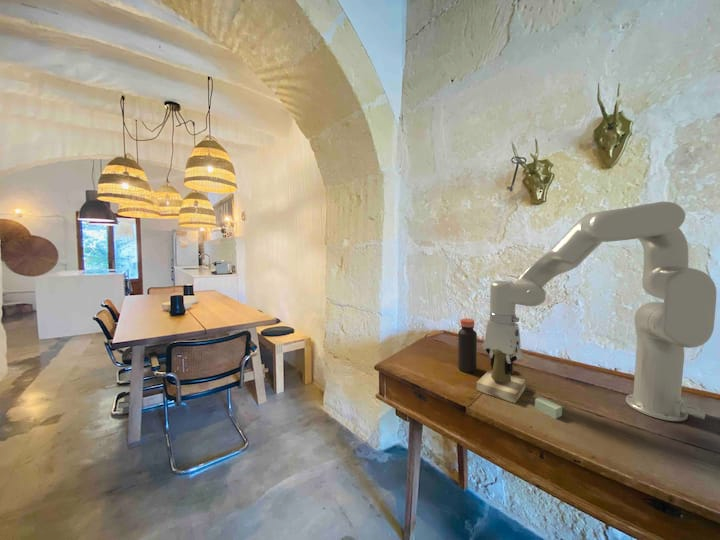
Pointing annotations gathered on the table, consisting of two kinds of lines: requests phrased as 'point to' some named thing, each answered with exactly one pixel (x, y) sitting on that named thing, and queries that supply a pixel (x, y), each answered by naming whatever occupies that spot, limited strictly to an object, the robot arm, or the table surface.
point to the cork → (500, 367)
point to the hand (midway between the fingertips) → (501, 370)
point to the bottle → (467, 347)
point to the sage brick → (548, 407)
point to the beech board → (501, 387)
